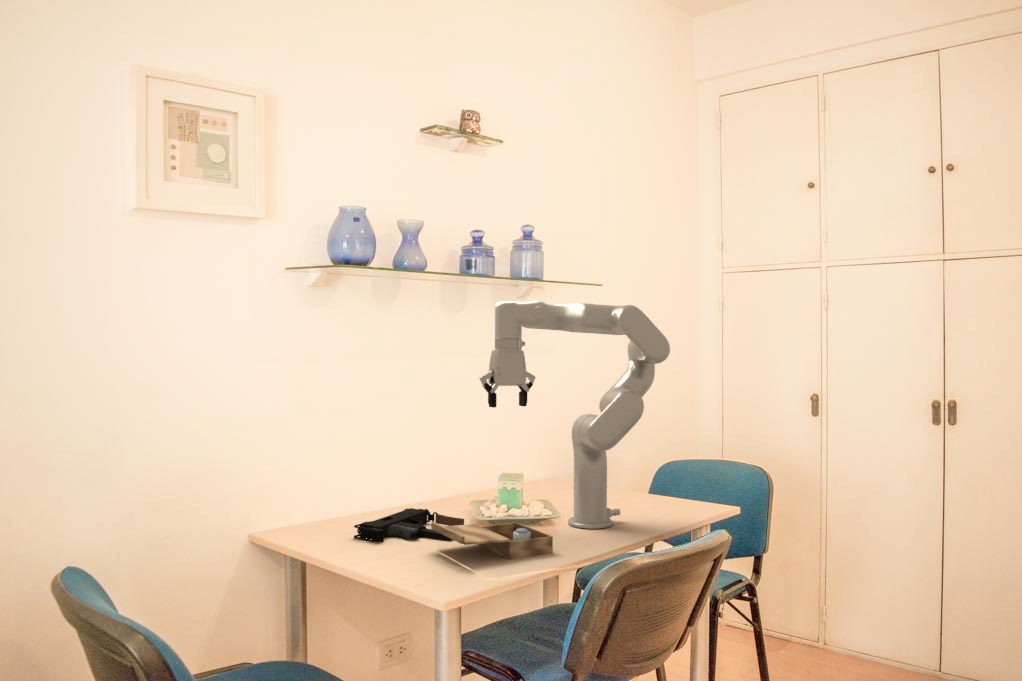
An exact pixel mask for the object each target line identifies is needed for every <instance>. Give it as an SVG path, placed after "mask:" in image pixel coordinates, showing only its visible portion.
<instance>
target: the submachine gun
mask: <svg viewBox="0 0 1022 681" xmlns="http://www.w3.org/2000/svg"><path fill="white" fill-rule="evenodd" d="M430 522H431V523H432V522H435V523H437V524H439V525H441V526H454V525H465V518H461V517H459V518H458V517H453V516H448V515H445V514H444V515H443V514H440V513H438V512H436V511H433V512H432V514H431V512H430V511H429V509H427V508H425V509H423V508H412V507H409V508H405V509H404V510H401V511H398V512H396V513H393V514H390V515H386V516H384V517H380V518H378V519H374V520H372V521H371V520H370V521H364V522H362V523H359V524H355V525H354V526H353V528H355V529H356V531H357V534H355V535H353V538H354V539H357V540H362V541H367V542H371V541H372V543H374V542H379V541H381V542H379V543H384V541H385V539H388V538H390V536H391V537H393V536H394V537H401V538H404V539H406V540H409V539H410V540H411V541H417V540H418V539H431V540H437V541H445V542H452V541H453V540H452V539H450V538H449V537H447V536H445V535H443V534H441V533H439V532H437V531H435V530H433V529H430V528H427V526H424V525H427V523H430ZM387 537H388V538H387ZM366 538H367V539H366ZM384 538H385V539H384ZM370 539H372V540H370ZM410 540H409V541H410Z"/></svg>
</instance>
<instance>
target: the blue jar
mask: <svg viewBox="0 0 1022 681" xmlns="http://www.w3.org/2000/svg"><path fill="white" fill-rule="evenodd" d="M527 539H531V532H530V531H527V529H525V528H518V529H516V531H514V532H513V541H520V540H527Z"/></svg>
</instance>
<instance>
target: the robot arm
mask: <svg viewBox="0 0 1022 681" xmlns="http://www.w3.org/2000/svg"><path fill="white" fill-rule="evenodd" d="M522 327H523V328H524V329H532V330H533V329H534V330H549V331H563V332H570V333H578V334H581V333H582V334H597V335H598V334H599V335H612V336H626V337H627V338H628V339H629V342H628V345H627V357H628V366H627V369H626V370H625V372H624V373H623V374H622V375H621V377H620V378H619V379H618V380H617V381H615V383H614V384H613V385H612V386H611V387H610V388H609V389H608V390H607V391H606V392H605V393H604V394H603V395H602V397H601V398H600V400H599V406H598V407H599V411H600V414H599V415H598V414H593V413H585V414H582V415H580V416H579V417H577V418H576V419H575V421H574V423H573V425H572V427H571V441H572V450H573V516H572V517H570V518H569V519H568V520H567V521H568V522H567V523H568V526H571V527H573V528H580V529H587V530H589V529H592V530H595V529H596V530H597V529H607V528H610V527H611V526H612V525H613V520H612V519H611V518H612V517H616V516H620V515H621V509H619V508H614V509H613V508H610V507H608V494H607V493H608V456H607V451H609V450H611V449H613V448H614V447H615V446H616V445H617V444H618V443H620V442H621V440H622V439H623V438H624V437H626V435H627V434H628V433H629V432H630V431H631V430H632V429H633V428H634V426H635V425H637V423H638V422H639V421H640V419H641V418H642V416H643V413H644V411H645V410H644V408H645V402H644V400H643V397H644V395H646V394H647V392H648V391H649V390H650V388H651V387H652V385H653V383H654V381H655V380H654V379H655V375H656V374H655V372H656V364H657V365H658V364H661V363H663V362H664V361H667V359H668V358H669V355H670V352H671V346H670V341H669V340H668V339H667V338H666V336H665V334H664V333H663V332H662V331H661V330H660V329H659V328H658V327H657V326H656V325H655V323H654V322H653V321H651V319H650V318H649V317H648V316H647V314H646V313H644V312H643V310H641V309H640V307H637V306H636V305H632V304H626V305H609V304H594V303H588V302H587V303H585V302H584V303H582V302H579V303H576V302H575V303H568V304H567V303H566V304H547V303H546V302H544V301H541V300H532V301H524V302H523V301H521V302H520V301H512V300H508V301H507V300H505V301H503V300H502V301H498V302H496V303H495V305H494V350H491V353H490V357H489V366H488V371H487V372H486V373H484V374H482V375H481V376H479V381H480V382H481V385H482V387H483V389H484V390H485V391H486V393H487V403H488V407H489V408H497V392H496V391H497V389H498V388H499V387H508V386H509V387H513V386H514V387H515V386H516V387H518V388H519V390H520V391H518V405H519V407H520V406H521V407H527V404H528V393H529V392H530V389H531V388H532V387H533V385H534V382H535V380H536V375H534V374H532V373H530V372H528V371H527V367H526V366H527V363H526V357H525V352H524V350H523V349H522V348H523V347H525V346H526V342H525V341H523V339H522V338H523V337H522V333H523V332H522V329H523V328H522ZM527 379H528V381H527Z"/></svg>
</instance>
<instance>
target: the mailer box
mask: <svg viewBox="0 0 1022 681" xmlns="http://www.w3.org/2000/svg"><path fill="white" fill-rule="evenodd" d="M480 526H481V527H483V528H486V529H488V530H490V531H492V532H495V533H497V534H499V535H502V536H504V537H506V538H508V539H510V542H497V543H483V544H478V545H479V546H481V547H483V548H484V549H485V548H486V549H488V550H490V551H492V552H493V553H495V554H498V555H500V556H501V557H503V558H505V559H508V560H515V559H523V558H529V557H530V558H531V557H535V556H536V557H537V556H543V555H550V554H554V552H553V550H554V548H553V544H554V542H553V540H554V539H553V538H554V536H552V535H550V534H548V533H544V532H541V531H539V530H538V529H537V530H536V529H534V528H532V527H530V526H527V525H524V524H522V523H519V522H516V521H515V522H507V523H499V524H491V525H484V526H483V525H480ZM518 528H525V529H527V531H530V532H531V539H527V540H520V541H513V532H514V531H516V529H518Z"/></svg>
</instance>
